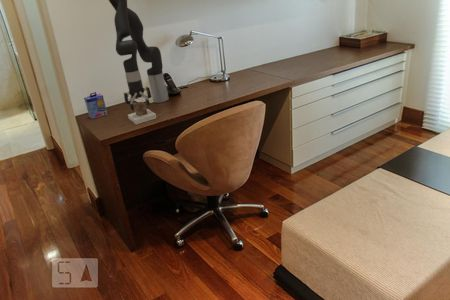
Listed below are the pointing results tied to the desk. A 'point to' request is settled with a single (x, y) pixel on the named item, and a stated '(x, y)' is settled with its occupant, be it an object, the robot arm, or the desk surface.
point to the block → (140, 108)
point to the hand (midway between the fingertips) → (140, 108)
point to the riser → (142, 117)
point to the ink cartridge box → (95, 105)
